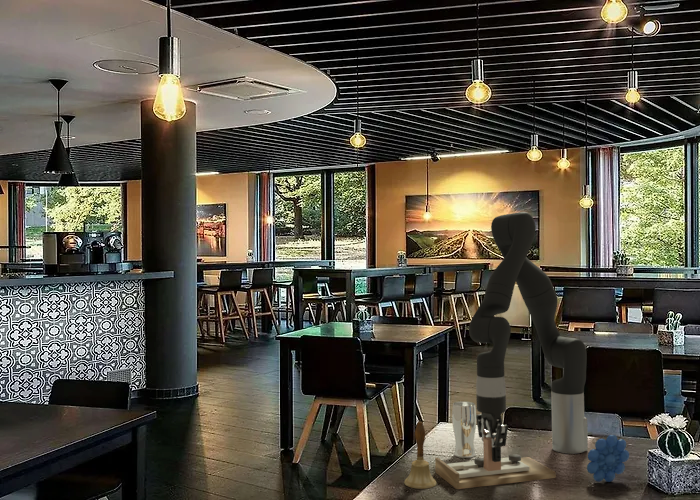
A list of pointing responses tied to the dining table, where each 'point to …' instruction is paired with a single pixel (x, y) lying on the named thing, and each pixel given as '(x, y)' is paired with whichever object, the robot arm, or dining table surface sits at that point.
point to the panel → (482, 471)
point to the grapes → (607, 458)
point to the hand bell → (420, 464)
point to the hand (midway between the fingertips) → (492, 458)
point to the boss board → (534, 473)
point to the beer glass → (464, 428)
